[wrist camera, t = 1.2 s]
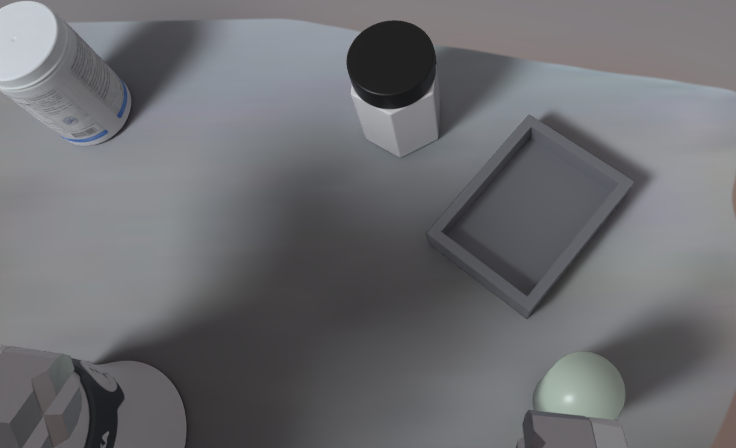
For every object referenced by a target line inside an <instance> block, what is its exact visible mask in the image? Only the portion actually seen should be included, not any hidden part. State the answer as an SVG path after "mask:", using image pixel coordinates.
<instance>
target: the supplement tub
mask: <svg viewBox="0 0 736 448" xmlns="http://www.w3.org/2000/svg"><path fill="white" fill-rule="evenodd" d="M0 91H1V92H2V93H4V94H5V95H6V96H8V97H9V98H10V99H12V100H13V101H14V102H16V103H17V104H19V105H20V106H21V107H23V108H24V109H25V110H27V111H28V112H29V113H31V114H32V115H33V116H35V117H36V118H37V119H39V120H40V121H41V122H43V123H44V124H45V125H47V126H48V127H49V128H51V129H52V130H53V131H55V132H56V133H57V134H59V135H60V136H62V137H63V138H64V139H66V140H67V141H69V142H71V143H73V144H77V145H83V146H89V145H95V144H99V143H102V142H104V141H106V140H108V139H109V138H111V137H112V136H114V135H115V134H116V133H117V132H118V131H119V130H120V129H121V128H122V127H123V125H124V124H125V122H126V120H127V118H128V115H129V113H130V109H131V95H130V92H129V89H128V87H127V86H126V84H125V83H124V82H123V81H122V79H121V78H120V77H119V76H118V75H117V74H116V73H115V72H114V71H113V70H112V69H111V68H110V67H109V66H108V65H107V64H106V63H105V62H104V61H103V60H102V59H101V58H100V57H99V56H98V55H97V54H96V53H95V52H94V51H93V49H92V48H91V47H90V46H89V45H88V44H87V43H86V42H85V41H84V40H83V39H82V38H81V37H80V36H79V35H78V34H77V33H76V32H75V31H74V30H73V29H72V28H71V27H70V26H69V25H68V24H67V23H66V22H65V21H64V20H63V19H62V18H61V17H60V16H59V15H57V14H56V13H55V12H53V11H52V10H51V9H50V8H49V7H47V6H46V5H44V4H42V3H39V2H35V1H20V2H15V3H12V4H9V5H7V6H5V7H3V8H1V9H0Z"/></svg>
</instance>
